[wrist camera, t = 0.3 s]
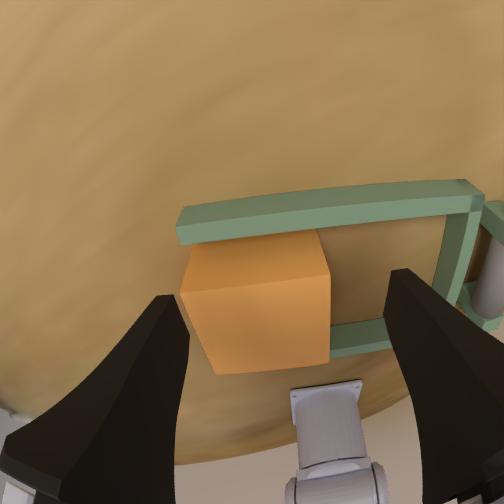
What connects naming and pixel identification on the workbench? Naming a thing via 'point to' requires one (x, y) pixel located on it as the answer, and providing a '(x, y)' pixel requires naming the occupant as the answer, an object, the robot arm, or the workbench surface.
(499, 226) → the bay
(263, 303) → the orange square block
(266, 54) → the workbench surface
